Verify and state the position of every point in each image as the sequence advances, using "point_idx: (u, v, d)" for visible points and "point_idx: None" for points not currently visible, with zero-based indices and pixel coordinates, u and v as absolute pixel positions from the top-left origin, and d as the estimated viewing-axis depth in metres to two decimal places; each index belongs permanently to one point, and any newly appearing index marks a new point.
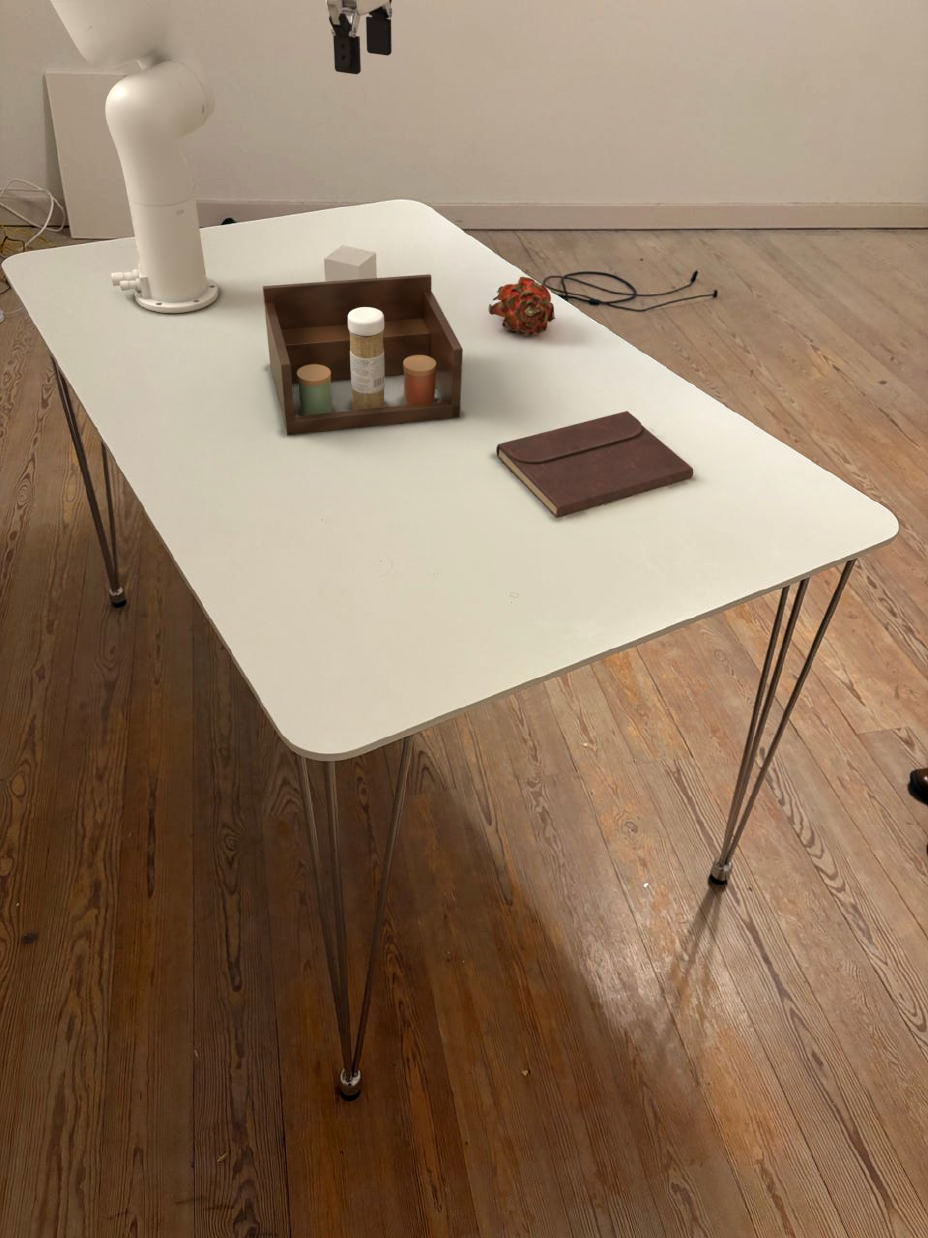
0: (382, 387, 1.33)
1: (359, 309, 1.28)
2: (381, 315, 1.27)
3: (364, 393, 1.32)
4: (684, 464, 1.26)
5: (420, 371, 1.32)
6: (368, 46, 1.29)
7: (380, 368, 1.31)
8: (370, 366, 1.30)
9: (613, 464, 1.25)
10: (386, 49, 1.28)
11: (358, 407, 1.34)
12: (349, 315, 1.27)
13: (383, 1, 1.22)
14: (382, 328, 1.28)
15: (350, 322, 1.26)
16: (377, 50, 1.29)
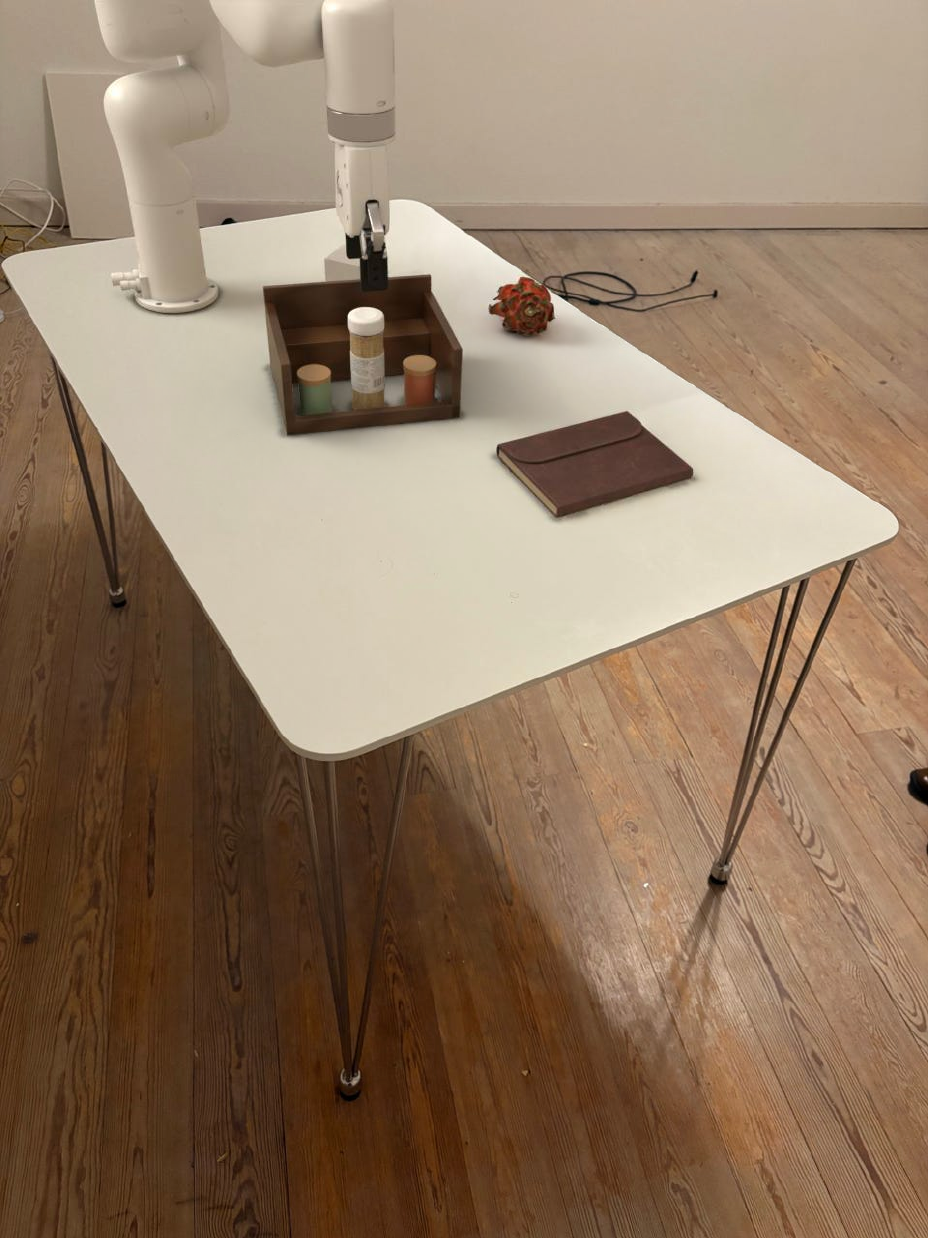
0: (382, 387, 1.33)
1: (359, 309, 1.28)
2: (381, 315, 1.27)
3: (364, 393, 1.32)
4: (684, 464, 1.26)
5: (420, 371, 1.32)
6: (349, 253, 1.26)
7: (380, 368, 1.31)
8: (370, 366, 1.30)
9: (613, 464, 1.25)
10: None
11: (358, 407, 1.34)
12: (349, 315, 1.27)
13: None
14: (382, 328, 1.28)
15: (350, 322, 1.26)
16: (359, 255, 1.26)
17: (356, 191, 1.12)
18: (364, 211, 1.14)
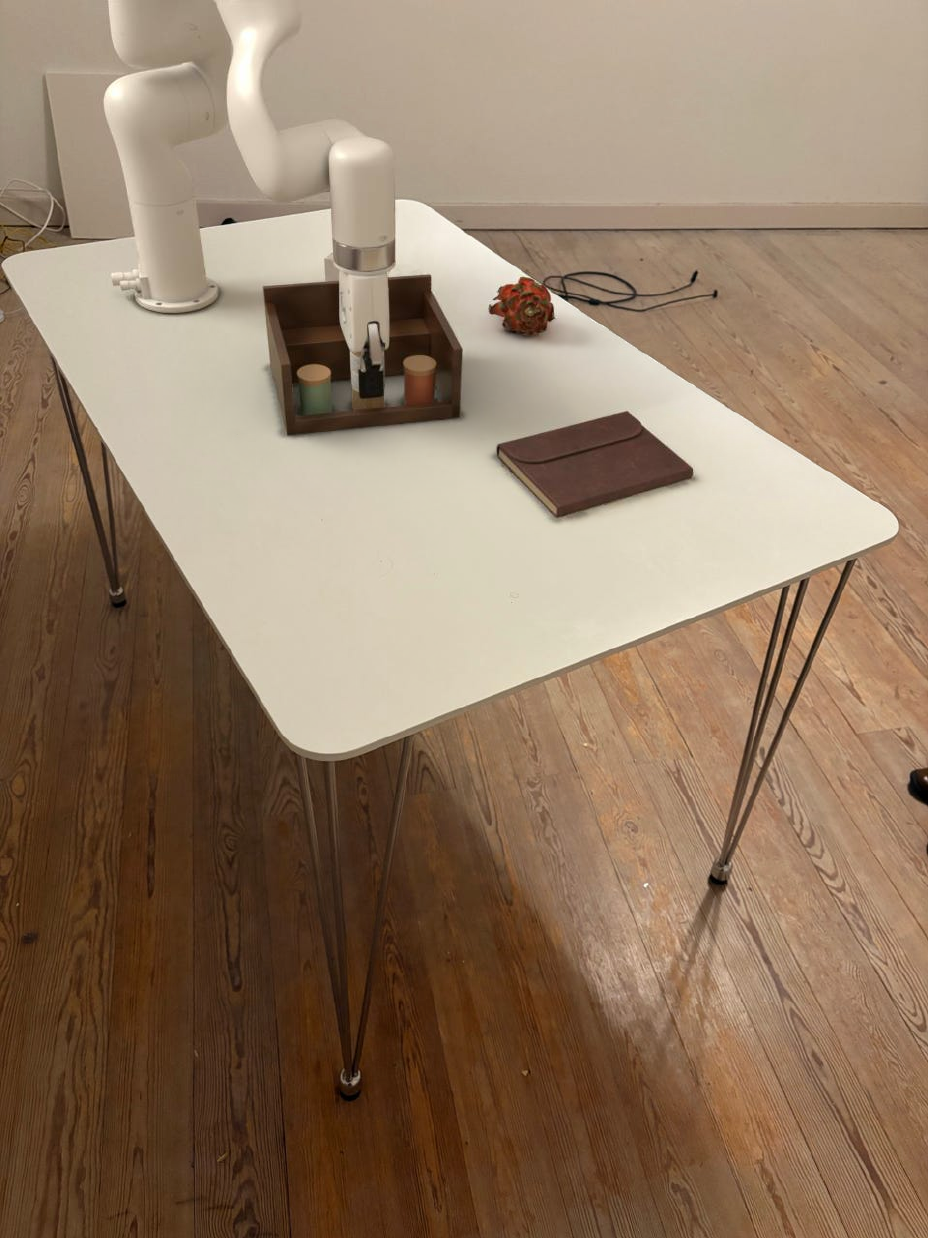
0: None
1: None
2: None
3: None
4: (684, 464, 1.26)
5: (420, 371, 1.32)
6: None
7: None
8: None
9: (613, 464, 1.25)
10: None
11: (358, 407, 1.34)
12: None
13: None
14: None
15: None
16: None
17: (359, 314, 1.22)
18: (366, 331, 1.23)
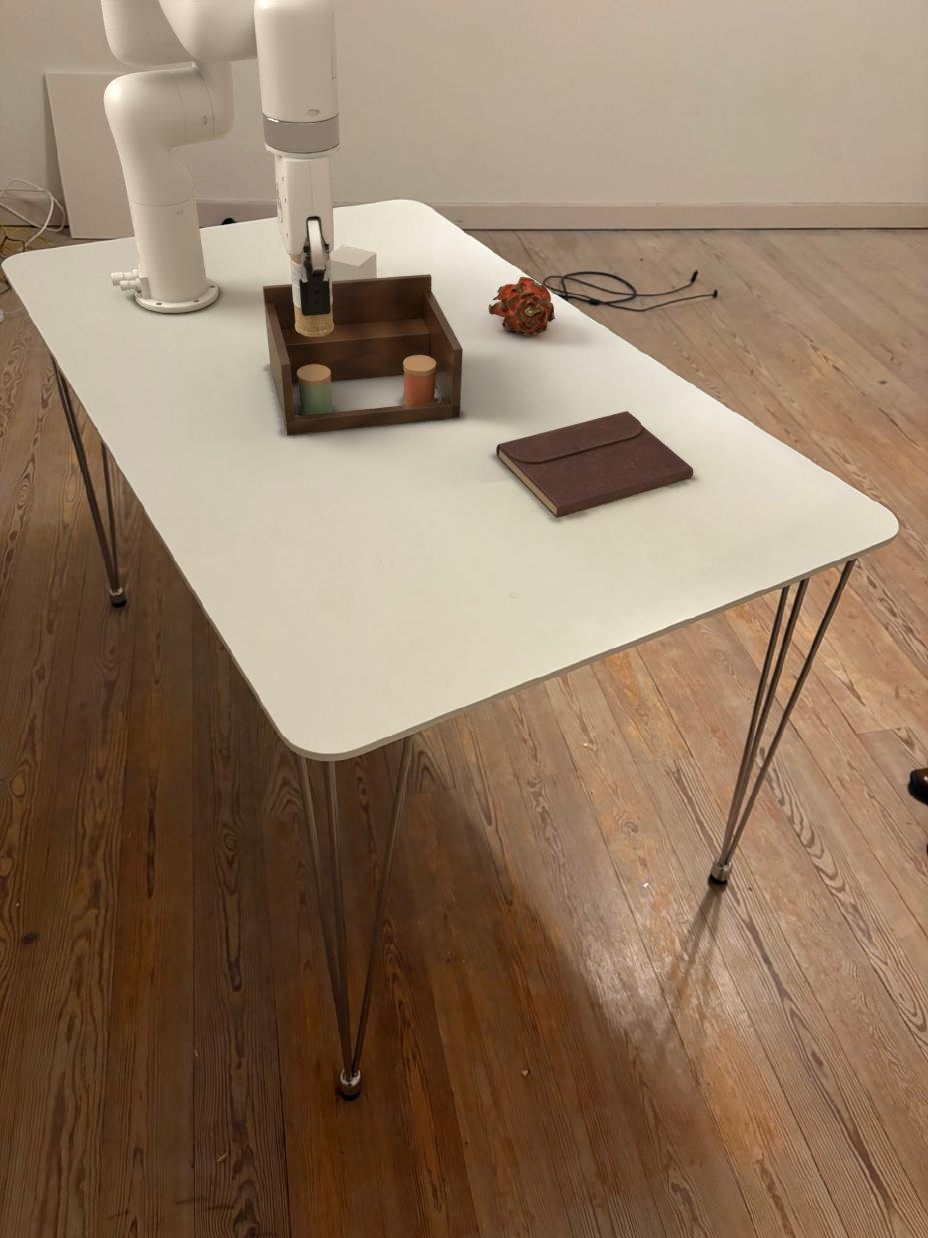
0: None
1: None
2: None
3: None
4: (684, 464, 1.26)
5: (420, 371, 1.32)
6: None
7: None
8: None
9: (613, 464, 1.25)
10: None
11: (302, 327, 1.14)
12: None
13: None
14: None
15: None
16: None
17: (295, 207, 1.02)
18: (305, 229, 1.03)
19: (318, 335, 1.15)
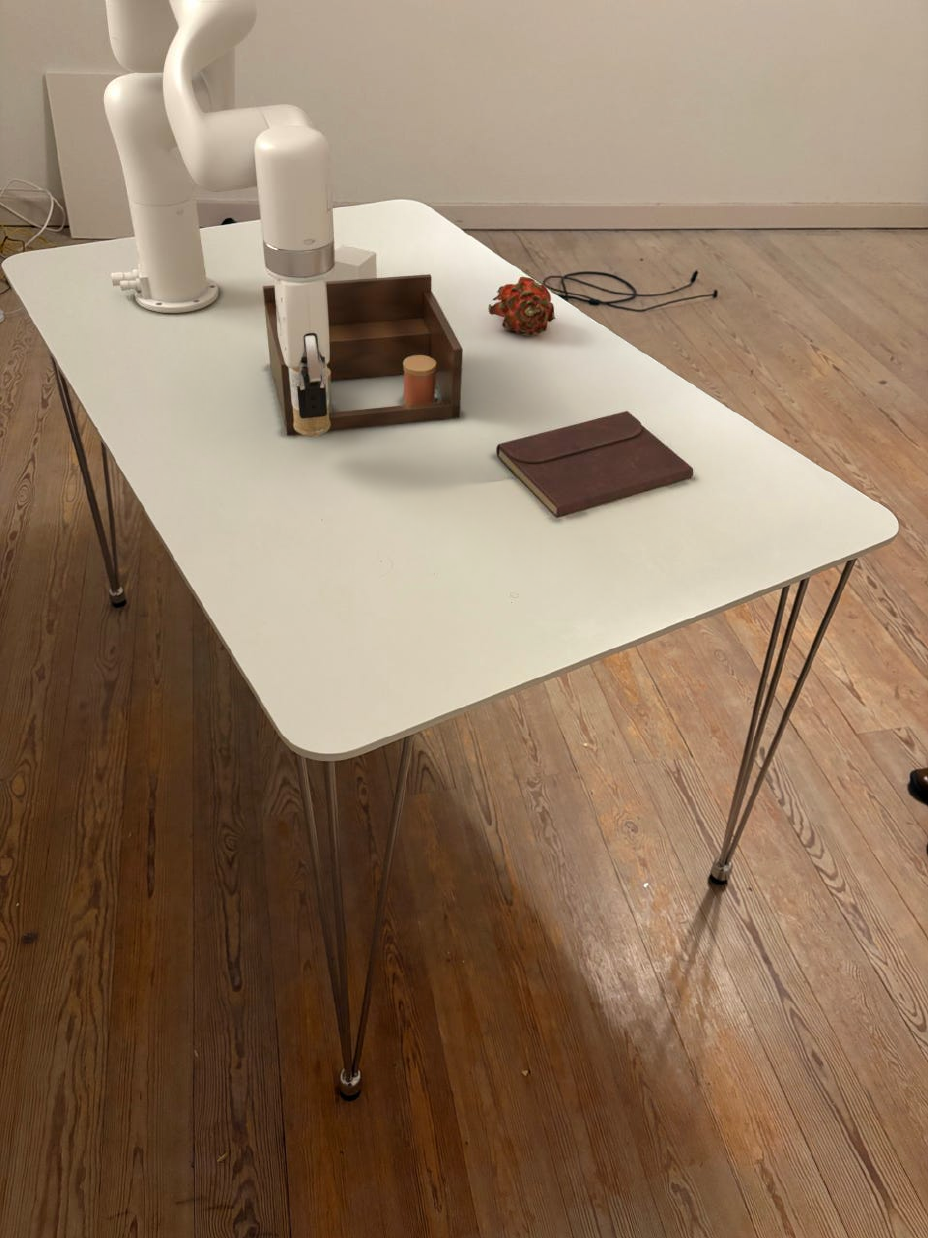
0: None
1: None
2: None
3: None
4: (684, 464, 1.26)
5: (420, 371, 1.32)
6: None
7: None
8: None
9: (613, 464, 1.25)
10: None
11: (300, 427, 1.21)
12: None
13: None
14: None
15: None
16: None
17: (293, 325, 1.08)
18: (302, 344, 1.10)
19: (315, 434, 1.21)
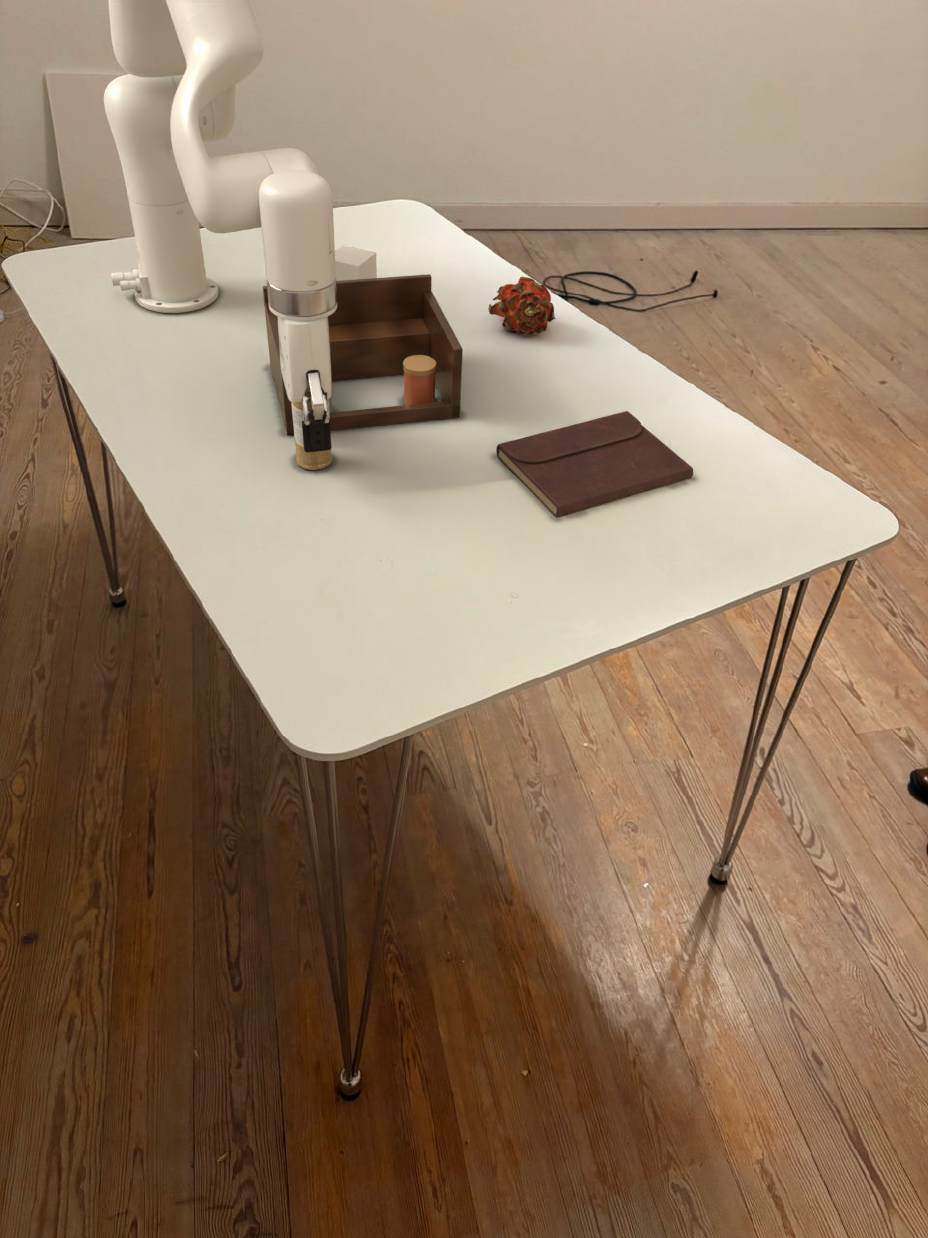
0: None
1: None
2: None
3: None
4: (684, 464, 1.26)
5: (420, 371, 1.32)
6: None
7: None
8: None
9: (613, 464, 1.25)
10: None
11: (302, 462, 1.24)
12: None
13: None
14: None
15: None
16: None
17: (296, 363, 1.11)
18: (305, 380, 1.13)
19: (317, 468, 1.24)
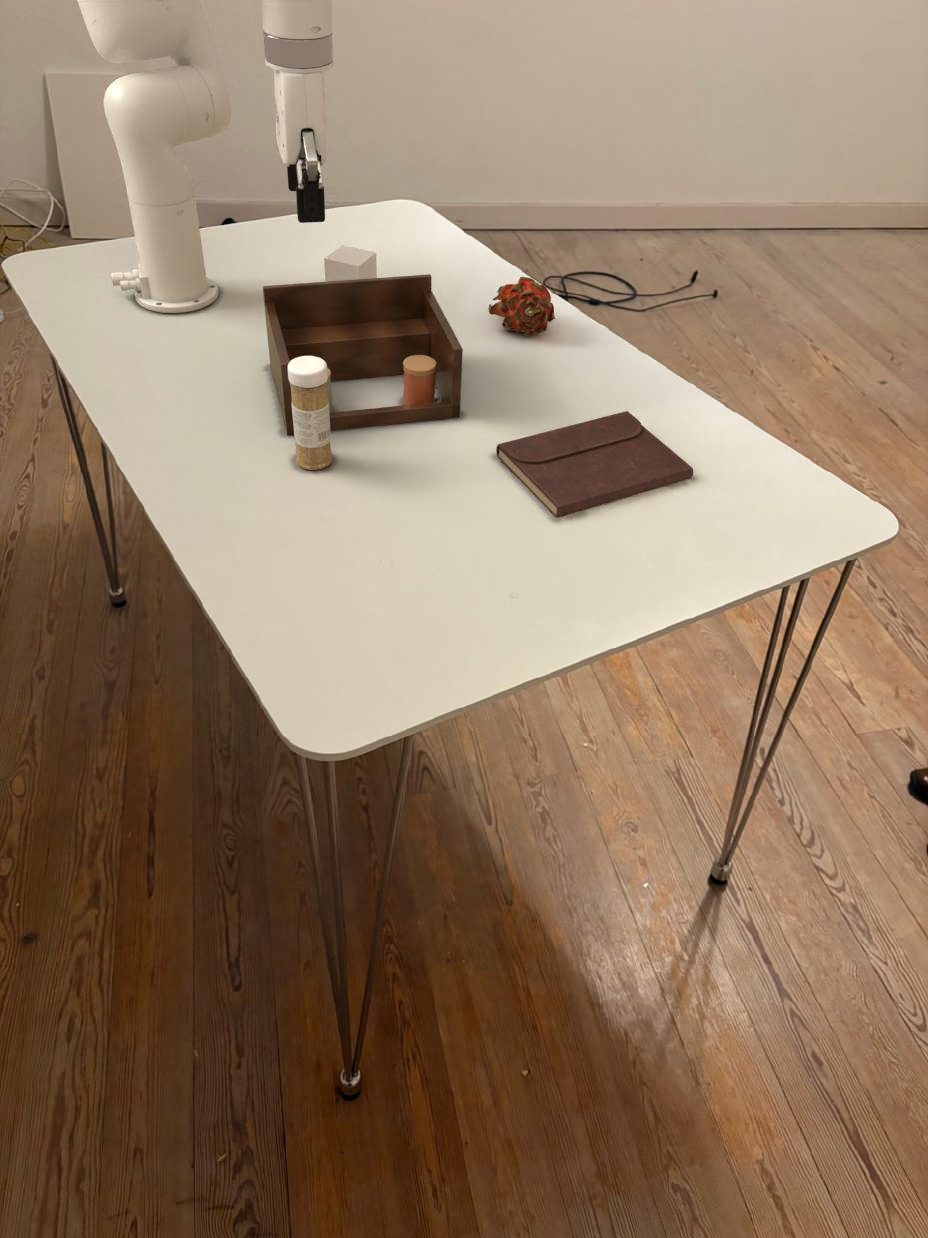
0: (328, 440, 1.23)
1: (300, 358, 1.18)
2: (324, 365, 1.17)
3: (308, 447, 1.22)
4: (684, 464, 1.26)
5: (420, 371, 1.32)
6: (291, 185, 1.26)
7: (324, 421, 1.21)
8: (313, 419, 1.20)
9: (613, 464, 1.25)
10: None
11: (302, 462, 1.24)
12: (289, 365, 1.17)
13: None
14: (325, 379, 1.18)
15: (290, 373, 1.16)
16: None
17: (291, 118, 1.12)
18: (299, 139, 1.14)
19: (317, 468, 1.24)
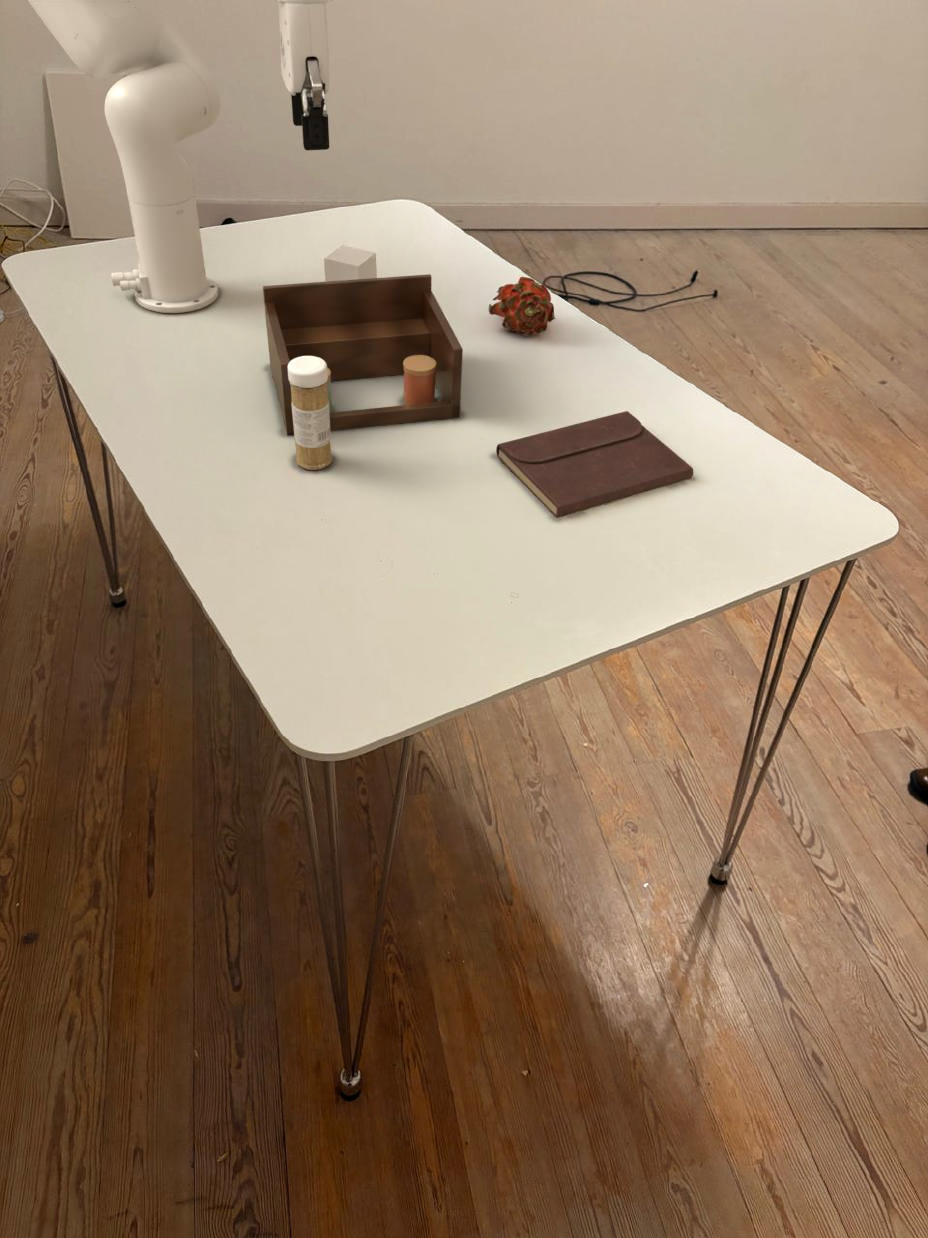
0: (328, 440, 1.23)
1: (300, 358, 1.18)
2: (324, 365, 1.17)
3: (308, 447, 1.22)
4: (684, 464, 1.26)
5: (420, 371, 1.32)
6: (296, 119, 1.33)
7: (324, 421, 1.21)
8: (313, 419, 1.20)
9: (613, 464, 1.25)
10: None
11: (302, 462, 1.24)
12: (289, 365, 1.17)
13: None
14: (325, 379, 1.18)
15: (290, 373, 1.16)
16: None
17: (296, 47, 1.19)
18: (304, 67, 1.21)
19: (317, 468, 1.24)
